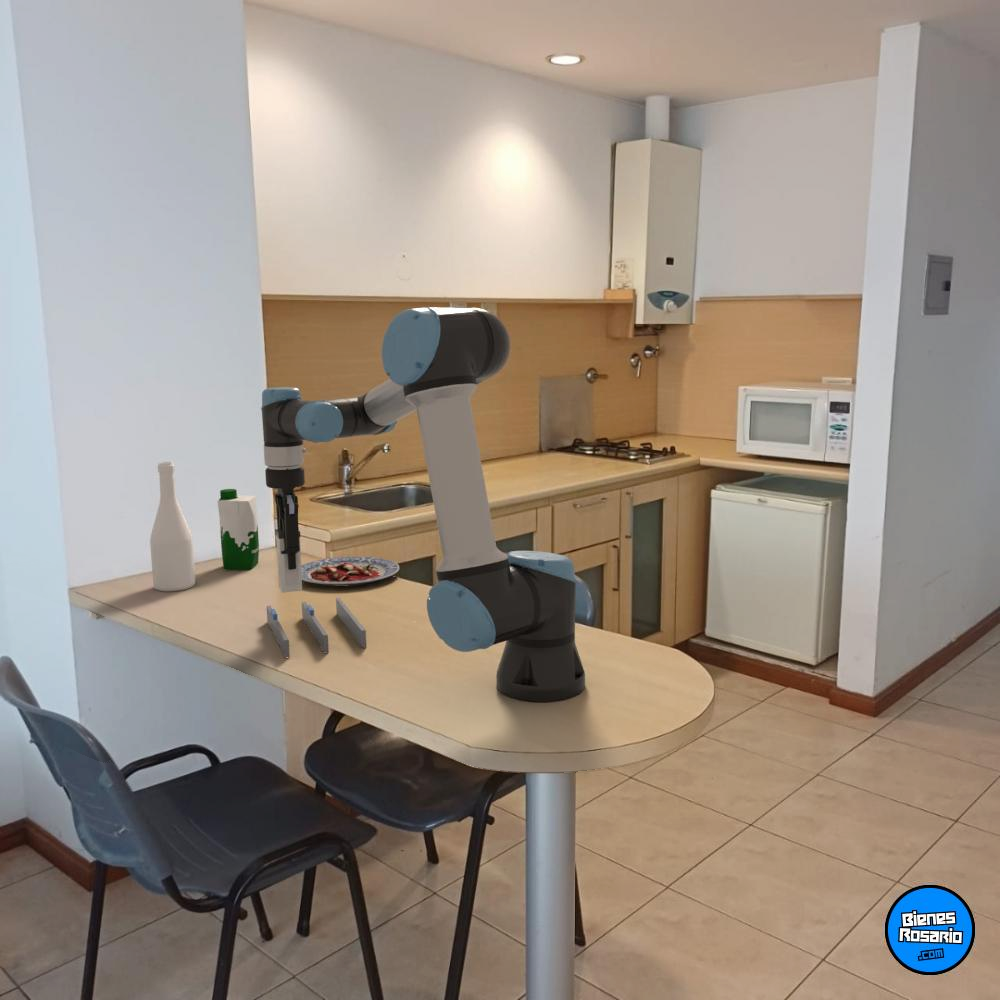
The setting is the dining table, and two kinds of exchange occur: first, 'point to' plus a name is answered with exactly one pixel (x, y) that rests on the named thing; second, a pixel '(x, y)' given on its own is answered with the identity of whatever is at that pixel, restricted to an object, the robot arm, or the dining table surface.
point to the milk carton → (238, 530)
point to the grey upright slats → (317, 626)
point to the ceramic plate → (348, 570)
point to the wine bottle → (171, 539)
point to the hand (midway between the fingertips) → (290, 581)
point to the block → (281, 565)
